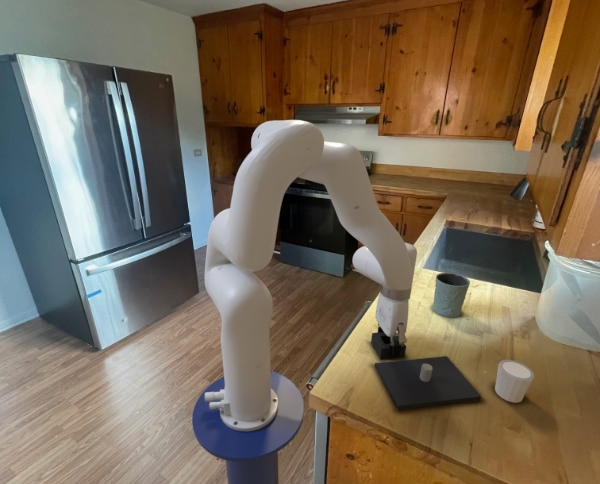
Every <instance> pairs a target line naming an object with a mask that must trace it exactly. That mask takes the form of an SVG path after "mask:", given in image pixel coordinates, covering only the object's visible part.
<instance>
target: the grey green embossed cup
mask: <svg viewBox="0 0 600 484" xmlns="http://www.w3.org/2000/svg"><path fill="white" fill-rule="evenodd" d="M470 285H471V281H470V280H469V278H467V277H466V276H464V275H462V274H460V273H459V274H458V273H456V272H441V273H438V274H436V276H435V288H434V294H433V295H434V296H433V304H432V310H433V311H434V312H435V313H436V314H438V315H439V316H442V317H445V318H457V317H459V316H460V315H461V312H462V309H463V306H464V303H465V300H466V296H467V293H468V290H469V288H470Z"/></svg>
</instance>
